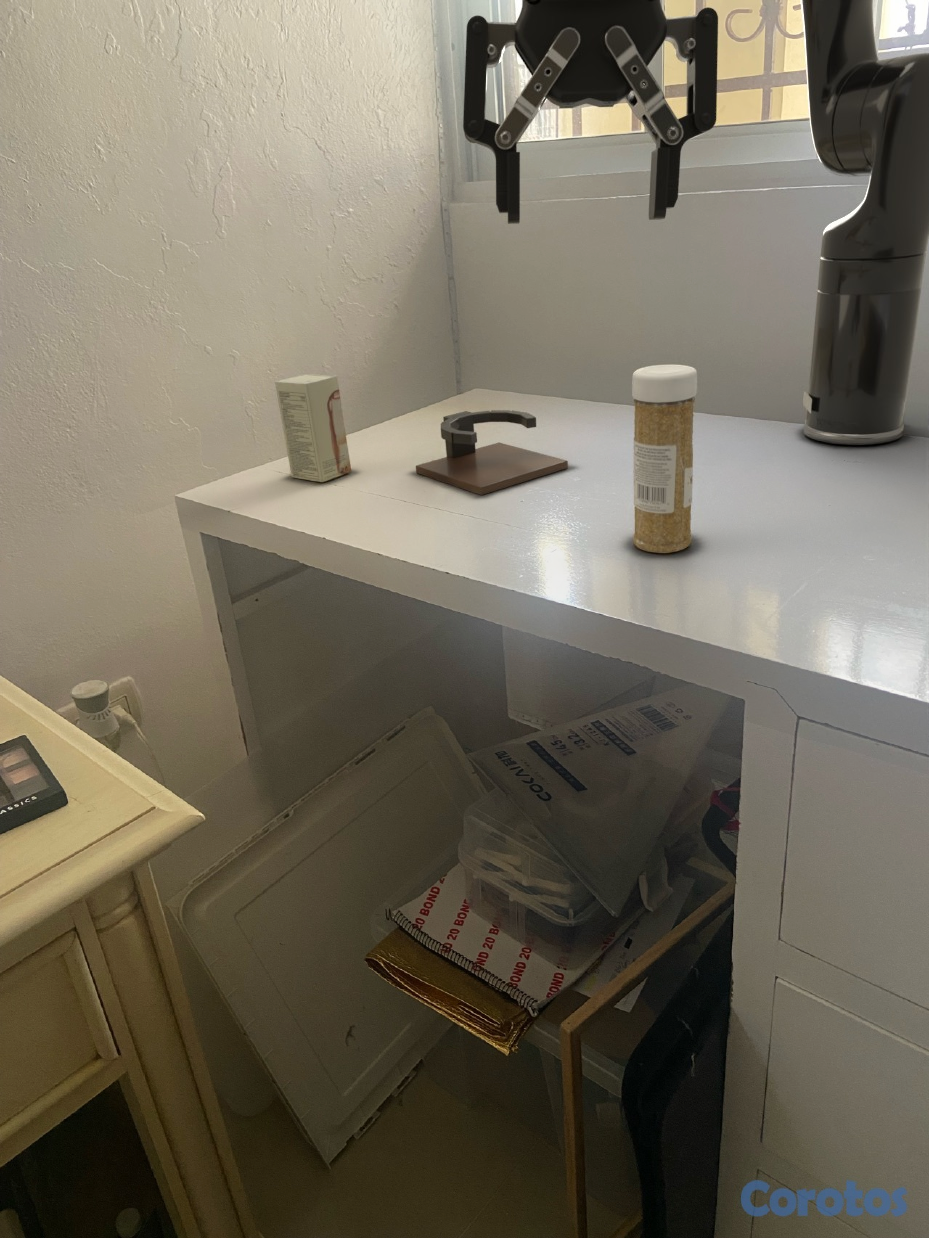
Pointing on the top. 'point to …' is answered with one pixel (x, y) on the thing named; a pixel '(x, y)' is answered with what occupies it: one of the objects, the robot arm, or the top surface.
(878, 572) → the top surface
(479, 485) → the cup holder
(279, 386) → the printed product carton
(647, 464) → the spice jar
